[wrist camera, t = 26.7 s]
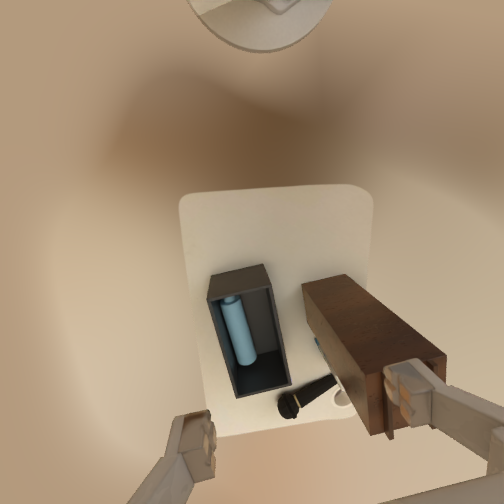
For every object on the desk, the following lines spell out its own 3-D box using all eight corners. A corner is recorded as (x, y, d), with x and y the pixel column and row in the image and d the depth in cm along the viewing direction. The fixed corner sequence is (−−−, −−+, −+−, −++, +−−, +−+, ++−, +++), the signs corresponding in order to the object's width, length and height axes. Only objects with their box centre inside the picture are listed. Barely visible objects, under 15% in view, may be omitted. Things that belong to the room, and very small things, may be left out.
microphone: (338, 356, 63) (272, 395, 61) (348, 365, 57) (275, 408, 56) (348, 374, 63) (282, 414, 61) (359, 386, 57) (286, 430, 56)
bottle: (230, 275, 51) (211, 283, 49) (238, 281, 47) (217, 289, 45) (251, 348, 56) (234, 357, 55) (260, 358, 52) (242, 368, 51)
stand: (301, 284, 53) (370, 382, 27) (345, 273, 53) (454, 361, 27) (307, 322, 56) (374, 444, 30) (349, 312, 56) (451, 424, 30)
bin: (210, 275, 50) (206, 299, 40) (262, 263, 51) (271, 284, 41) (234, 360, 57) (236, 399, 47) (280, 349, 57) (291, 385, 47)
